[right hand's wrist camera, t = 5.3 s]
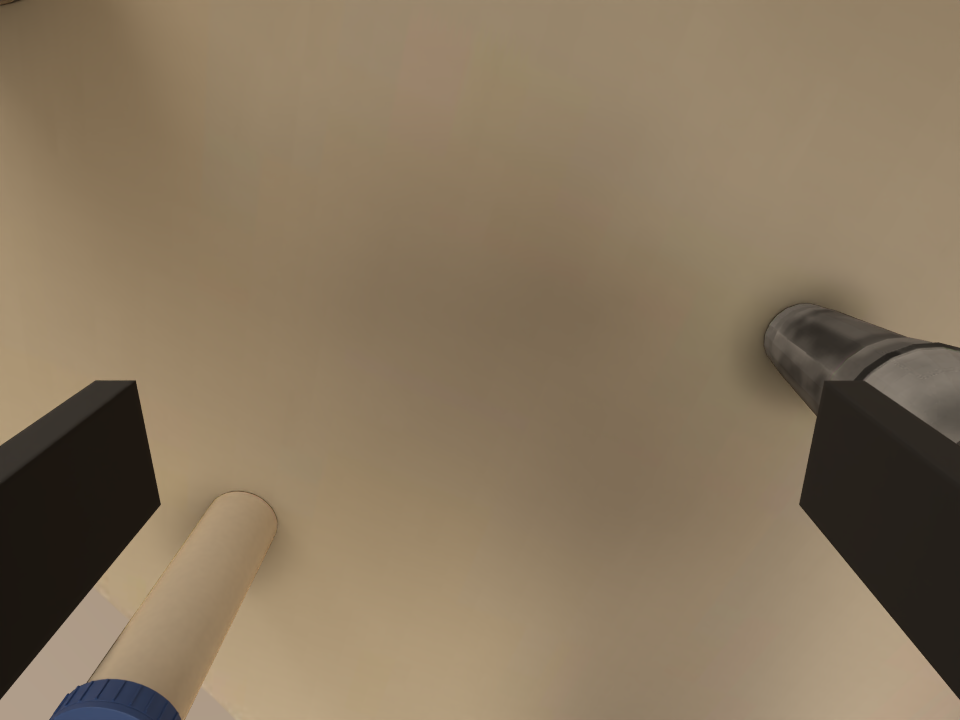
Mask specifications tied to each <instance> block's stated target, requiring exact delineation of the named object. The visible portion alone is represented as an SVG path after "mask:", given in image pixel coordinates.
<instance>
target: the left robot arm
mask: <svg viewBox="0 0 960 720" xmlns="http://www.w3.org/2000/svg"><path fill="white" fill-rule="evenodd" d="M13 1H16V0H0V5H2V4H6V3H10V2H13Z"/></svg>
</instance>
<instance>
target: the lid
mask: <svg viewBox="0 0 960 720" xmlns="http://www.w3.org/2000/svg"><path fill="white" fill-rule="evenodd" d="M49 720H181V717H180V715H179V713H178V712H177V710H176V709H175V707H174V706H173V705H172V704H171V703H170V702H169V701H168V700H167V699H166V698H165V697H164V696H162V695H161V694H159V693H158V692H156V691H154V690H153V689H151V688H149V687H147V686H144V685H142V684H139V683H136V682H132V681H127V680H121V679H101V680H95V681H91V682H88V683H86V684H83V685H81V686H77V688H76V689H75V690H73V691H72V692H71V693H70V694H67V695H66V696H65V698H64V699H63V701H62V702H61V703H60V705H59V706H58V708H57V709H56V710H55V712H54V713H53V715H52V717H51V718H50V719H49Z"/></svg>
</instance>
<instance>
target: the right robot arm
mask: <svg viewBox="0 0 960 720" xmlns="http://www.w3.org/2000/svg"><path fill="white" fill-rule="evenodd" d="M160 505H161V503H160V498H159V493H158V488H157V483H156V479H155V474H154V469H153V464H152V459H151V454H150V449H149V444H148V439H147V434H146V429H145V424H144V419H143V414H142V409H141V404H140V399H139V394H138V390H137V385H136V381H94V382H93V383H91V384H90V385H88V386H87V387H85V388H84V389H82V390H81V391H80V392H78V393H77V394H75V395H74V396H72V397H71V398H69V399H68V400H66V401H65V402H64V403H62V404H61V405H59V406H58V407H56V408H55V409H53V410H52V411H50V412H49V413H48V414H46V415H45V416H43V417H42V418H40V419H39V420H37V421H36V422H34V423H33V424H31V425H30V426H29V427H27V428H26V429H24V430H23V431H21V432H20V433H18V434H17V435H15V436H14V437H13V438H11V439H10V440H8V441H7V442H5V443H4V444H2V445H1V446H0V699H1V698H2V697H3V696H4V695H5V693H6V692H7V691H8V690H9V688H10V687H11V686H12V685H13V684H14V682H15V681H16V680H17V679H18V677H19V676H20V675H21V674H22V673H23V671H24V670H25V669H26V668H27V667H28V665H29V664H30V663H31V662H32V660H33V659H34V658H35V657H36V656H37V654H38V653H39V652H40V651H41V650H42V648H43V647H44V646H45V645H46V643H47V642H48V641H49V640H50V639H51V637H52V636H53V635H54V634H55V632H56V631H57V630H58V629H59V628H60V626H61V625H62V624H63V623H64V622H65V620H66V619H67V618H68V617H69V615H70V614H71V613H72V612H73V611H74V609H75V608H76V607H77V606H78V605H79V603H80V602H81V601H82V600H83V599H84V597H85V596H86V595H87V594H88V592H89V591H90V590H91V589H92V588H93V586H94V585H95V584H96V583H97V581H98V580H99V579H100V578H101V577H102V575H103V574H104V573H105V572H106V571H107V569H108V568H109V567H110V566H111V564H112V563H113V562H114V561H115V560H116V558H117V557H118V556H119V555H120V554H121V552H122V551H123V550H124V549H125V547H126V546H127V545H128V544H129V543H130V541H131V540H132V539H133V538H134V537H135V535H136V534H137V533H138V532H139V530H140V529H141V528H142V527H143V526H144V524H145V523H146V522H147V521H148V520H149V518H150V517H151V516H152V515H153V513H154V512H155V511H156V510H157V509H158V507H159V506H160ZM799 505H800V506H801V507H802V509H803V510H804V511H805V512H806V513H807V515H808V516H809V517H810V518H811V520H812V521H813V522H814V523H815V524H816V526H817V527H818V528H819V529H820V530H821V532H822V533H823V534H824V535H825V537H826V538H827V539H828V540H829V541H830V543H831V544H832V545H833V546H834V547H835V549H836V550H837V551H838V552H839V554H840V555H841V556H842V557H843V558H844V560H845V561H846V562H847V563H848V564H849V566H850V567H851V568H852V569H853V571H854V572H855V573H856V574H857V575H858V577H859V578H860V579H861V580H862V581H863V583H864V584H865V585H866V586H867V588H868V589H869V590H870V591H871V592H872V594H873V595H874V596H875V597H876V599H877V600H878V601H879V602H880V603H881V605H882V606H883V607H884V608H885V609H886V611H887V612H888V613H889V614H890V616H891V617H892V618H893V619H894V620H895V622H896V623H897V624H898V625H899V626H900V628H901V629H902V630H903V631H904V633H905V634H906V635H907V636H908V637H909V639H910V640H911V641H912V642H913V643H914V645H915V646H916V647H917V648H918V650H919V651H920V652H921V653H922V654H923V656H924V657H925V658H926V659H927V660H928V662H929V663H930V664H931V665H932V667H933V668H934V669H935V670H936V671H937V673H938V674H939V675H940V676H941V677H942V679H943V680H944V681H945V682H946V684H947V685H948V686H949V687H950V688H951V690H952V691H953V692H954V693H955V695H956V696H957V697H958V698H959V699H960V446H959V445H958V444H956V443H955V442H953V441H952V440H950V439H949V438H947V437H946V436H945V435H943V434H942V433H940V432H939V431H937V430H936V429H934V428H933V427H931V426H930V425H929V424H927V423H926V422H924V421H923V420H921V419H920V418H918V417H917V416H915V415H914V414H912V413H911V412H910V411H908V410H907V409H905V408H904V407H902V406H901V405H899V404H898V403H896V402H895V401H894V400H892V399H891V398H889V397H888V396H886V395H885V394H883V393H882V392H880V391H879V390H878V389H876V388H875V387H873V386H872V385H870V384H869V383H867V382H866V381H824V385H823V390H822V394H821V399H820V404H819V409H818V414H817V419H816V424H815V429H814V434H813V439H812V444H811V449H810V454H809V459H808V464H807V469H806V474H805V479H804V483H803V488H802V493H801V498H800V503H799Z"/></svg>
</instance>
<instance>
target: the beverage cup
mask: <svg viewBox="0 0 960 720" xmlns="http://www.w3.org/2000/svg"><path fill="white" fill-rule="evenodd" d="M764 346H765V350H766V354H767V356H768V357H769V359H770V360H771V361H772V363H773V364H774V366H775V367H776V368H777V370H778V371H779V372H780V374H781V375H782V376H783V377H784V378H785V380H786V381H787V382H788V383H789V384H790V385H791V387H792V388H793V389H794V390H795V391H796V392H797V394H798V395H799V396H800V397H801V398H802V399H803V401H804V402H805V403H806V404H807V405H808V406H809V408H810V409H811V410H812V411H813V412H814V413H815V415H816V416H817V414H818V409H819V404H820V399H821V394H822V390H823V385H824V381H866V382H867V383H869V384H870V385H872V386H873V387H875V388H876V389H878V390H879V391H880V392H882V393H883V394H885V395H886V396H888V397H889V398H891V399H892V400H894V401H895V402H896V403H898V404H899V405H901V406H902V407H904V408H905V409H907V410H908V411H910V412H911V413H912V414H914V415H915V416H917V417H918V418H920V419H921V420H923V421H924V422H926V423H927V424H929V425H930V426H931V427H933V428H934V429H936V430H937V431H939V432H940V433H942V434H943V435H945V436H946V437H947V438H949V439H950V440H952V441H953V442H955V443H956V444H958V445H959V446H960V348H958V347H954V346H950V345H946V344H942V343H932V342H928V341H924V340H919V339H914V338H910V337H906V336H903V335H900V334H897V333H895V332H892V331H889V330H887V329H884V328H881V327H878V326H876V325H873V324H870V323H868V322H865V321H862V320H859V319H857V318H854V317H851V316H849V315H846V314H843V313H840V312H838V311H835V310H831V309H827V308H823V307H821V306H817V305H813V304H797V305H795V306H792V307H789V308H787V309H785V310H784V311H782V312H781V313H779V314H778V315H777V316H776V317H775V318H774V319H773V321H772V322H771V323H770V324H769V327H768V329H767V331H766V334H765V341H764Z"/></svg>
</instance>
